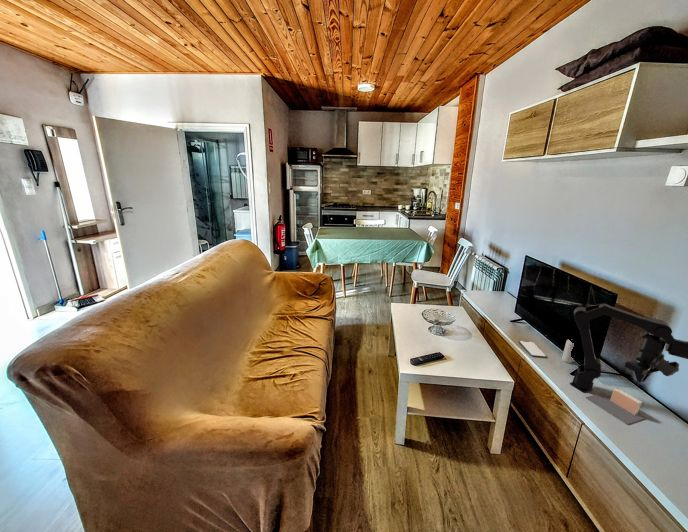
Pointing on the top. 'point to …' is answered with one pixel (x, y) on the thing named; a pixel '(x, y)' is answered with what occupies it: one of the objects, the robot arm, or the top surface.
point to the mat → (614, 408)
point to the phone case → (532, 349)
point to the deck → (626, 401)
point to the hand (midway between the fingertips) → (640, 381)
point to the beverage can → (568, 352)
